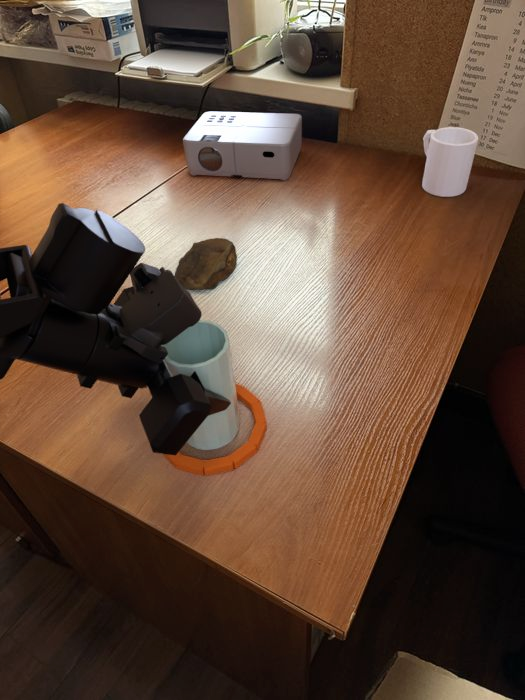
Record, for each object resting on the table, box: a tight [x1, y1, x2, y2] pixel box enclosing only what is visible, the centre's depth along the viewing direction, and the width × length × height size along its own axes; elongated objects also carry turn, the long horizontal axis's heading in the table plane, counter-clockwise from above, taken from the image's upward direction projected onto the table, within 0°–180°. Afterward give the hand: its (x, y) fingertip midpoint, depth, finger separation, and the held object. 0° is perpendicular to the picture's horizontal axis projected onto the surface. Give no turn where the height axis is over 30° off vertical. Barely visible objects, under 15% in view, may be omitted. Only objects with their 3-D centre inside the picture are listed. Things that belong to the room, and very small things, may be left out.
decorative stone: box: [174, 237, 238, 290], centre depth 79 cm, size 10×9×4 cm
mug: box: [421, 126, 479, 198], centre depth 95 cm, size 8×12×10 cm
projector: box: [182, 111, 303, 182], centre depth 106 cm, size 17×22×8 cm
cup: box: [162, 319, 241, 451], centre depth 53 cm, size 7×7×13 cm
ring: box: [162, 383, 268, 477], centre depth 58 cm, size 12×12×1 cm
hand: (215, 382), depth 54 cm, fingers closed on cup, 7 cm apart
